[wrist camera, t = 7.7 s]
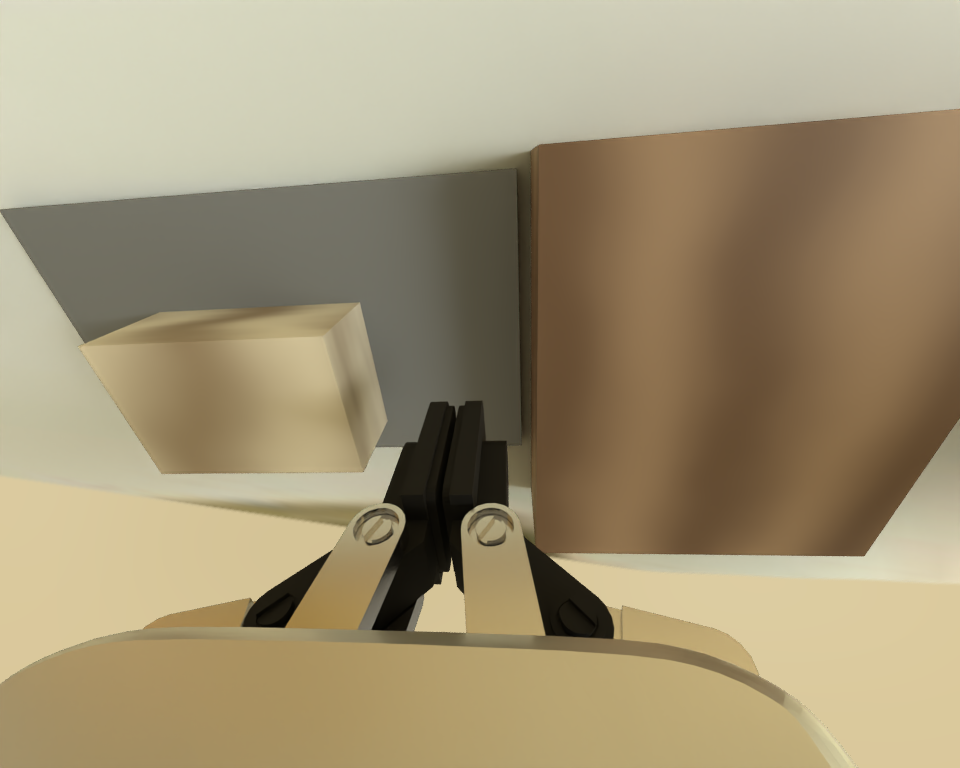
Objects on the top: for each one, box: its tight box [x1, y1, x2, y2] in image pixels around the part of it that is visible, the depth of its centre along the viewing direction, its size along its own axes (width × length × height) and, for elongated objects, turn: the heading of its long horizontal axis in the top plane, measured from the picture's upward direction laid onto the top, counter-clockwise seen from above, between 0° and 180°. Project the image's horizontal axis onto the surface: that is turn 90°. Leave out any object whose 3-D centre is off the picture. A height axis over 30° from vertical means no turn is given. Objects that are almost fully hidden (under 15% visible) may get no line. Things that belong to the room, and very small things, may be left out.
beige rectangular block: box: [78, 302, 388, 474], centre depth 16 cm, size 9×6×4 cm, turn 94°
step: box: [531, 109, 960, 556], centre depth 15 cm, size 14×16×4 cm
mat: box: [0, 169, 522, 447], centre depth 17 cm, size 20×12×1 cm, turn 94°
